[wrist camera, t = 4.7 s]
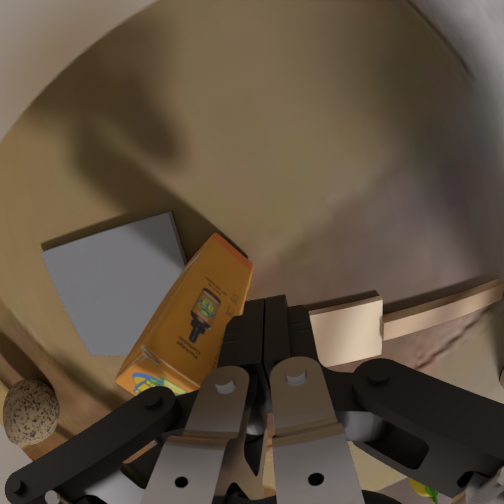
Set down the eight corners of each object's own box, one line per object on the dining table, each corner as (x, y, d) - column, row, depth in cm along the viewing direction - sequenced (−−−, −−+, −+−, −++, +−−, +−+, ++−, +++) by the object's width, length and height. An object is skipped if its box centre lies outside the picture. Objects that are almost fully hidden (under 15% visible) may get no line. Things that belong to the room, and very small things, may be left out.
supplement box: (183, 265, 18) (105, 380, 9) (216, 229, 17) (142, 342, 8) (221, 298, 19) (174, 426, 10) (257, 266, 17) (226, 401, 8)
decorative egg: (74, 395, 25) (37, 456, 16) (66, 414, 27) (35, 465, 18) (28, 357, 24) (-16, 410, 14) (25, 381, 26) (-10, 428, 17)
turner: (500, 260, 16) (507, 264, 16) (492, 310, 18) (497, 315, 17) (266, 318, 19) (265, 327, 18) (278, 369, 21) (279, 378, 20)
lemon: (425, 463, 28) (440, 510, 19) (395, 469, 28) (408, 521, 19) (448, 439, 26) (468, 491, 16) (418, 447, 26) (436, 504, 16)
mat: (171, 211, 17) (168, 213, 16) (216, 343, 20) (214, 348, 20) (45, 250, 18) (41, 252, 18) (93, 352, 22) (90, 356, 21)
